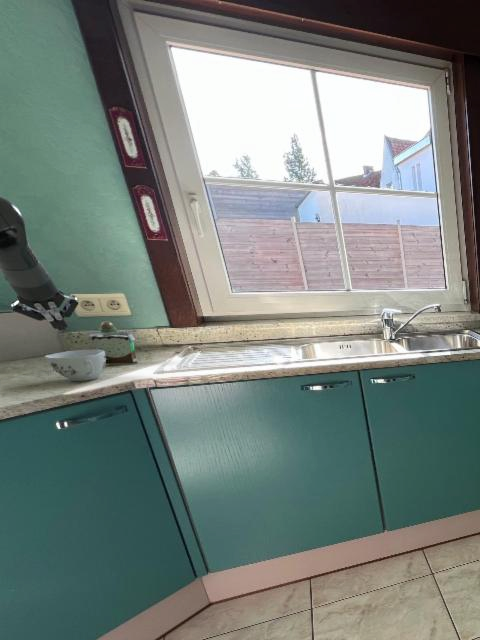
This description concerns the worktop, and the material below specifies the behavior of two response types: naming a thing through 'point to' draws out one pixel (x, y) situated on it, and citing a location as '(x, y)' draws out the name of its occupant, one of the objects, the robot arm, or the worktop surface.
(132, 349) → the food container
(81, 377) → the teacup
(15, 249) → the robot arm
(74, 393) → the worktop surface
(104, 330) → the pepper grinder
